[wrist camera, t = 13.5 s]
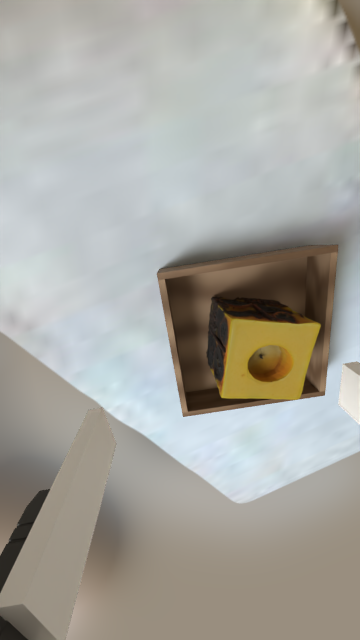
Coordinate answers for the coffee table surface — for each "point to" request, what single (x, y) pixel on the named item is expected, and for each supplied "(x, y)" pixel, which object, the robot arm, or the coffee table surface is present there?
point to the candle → (259, 348)
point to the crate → (244, 282)
